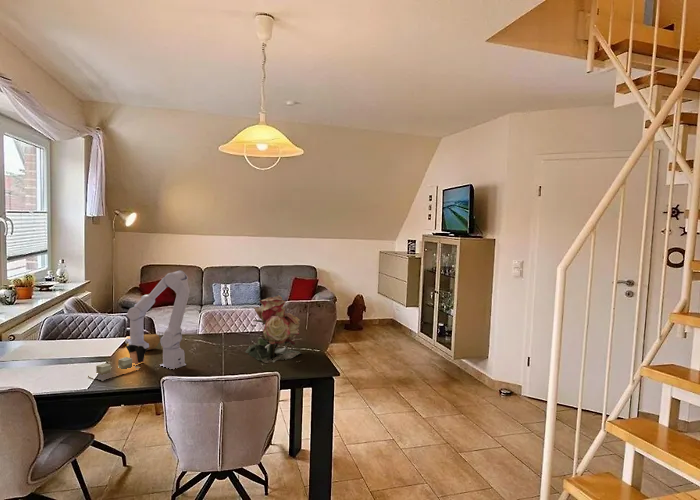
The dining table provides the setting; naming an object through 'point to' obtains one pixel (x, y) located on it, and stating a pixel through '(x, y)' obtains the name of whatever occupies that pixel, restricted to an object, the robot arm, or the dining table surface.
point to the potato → (151, 340)
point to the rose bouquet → (274, 331)
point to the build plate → (122, 364)
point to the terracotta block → (134, 357)
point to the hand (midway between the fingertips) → (137, 360)
